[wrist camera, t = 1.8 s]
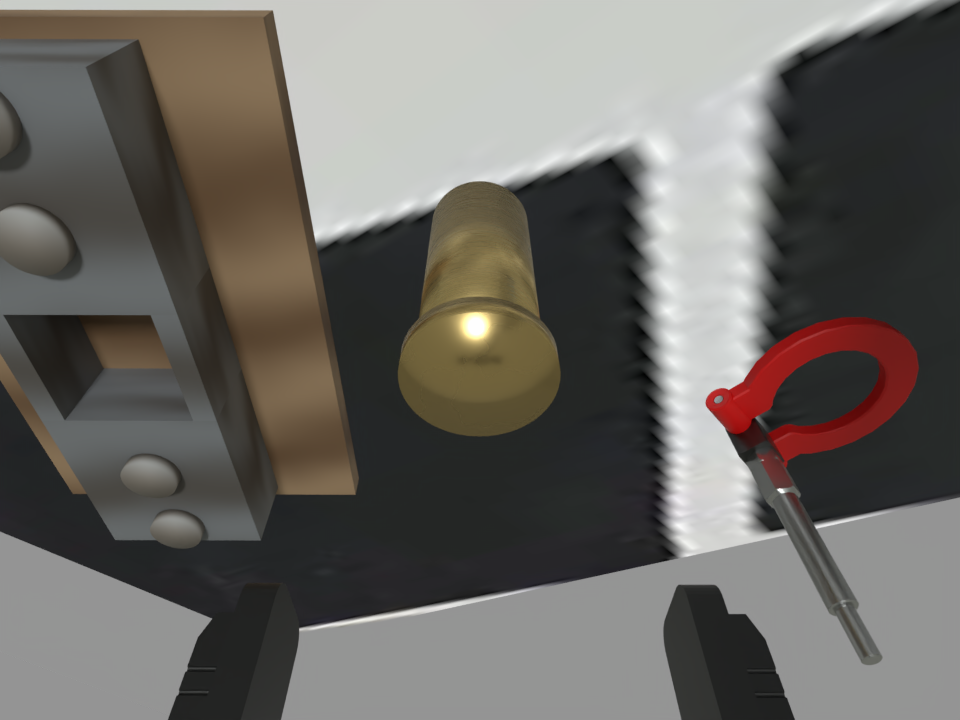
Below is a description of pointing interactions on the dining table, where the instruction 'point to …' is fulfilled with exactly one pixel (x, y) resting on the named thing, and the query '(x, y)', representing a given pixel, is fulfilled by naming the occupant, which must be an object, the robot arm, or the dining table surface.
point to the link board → (236, 231)
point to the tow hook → (815, 440)
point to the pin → (479, 320)
